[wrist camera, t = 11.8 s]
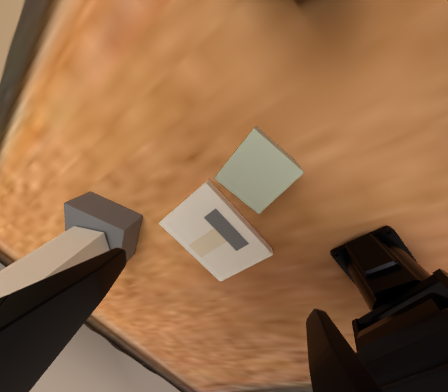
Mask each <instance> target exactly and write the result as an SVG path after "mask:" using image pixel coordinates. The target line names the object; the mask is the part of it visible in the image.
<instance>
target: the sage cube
mask: <svg viewBox="0 0 448 392" xmlns="http://www.w3.org/2000/svg"><path fill="white" fill-rule="evenodd" d="M303 173H304V171H303V170H302V169H301V168H300V166H299V165H298V164H297V162H296V161H295V160H294V159H293V158H292V157H291V156H290V155H289V154H288V153H287V152H285V151H284V150H283V149H282V148H281V147H280V146H279V145H277V144H276V143H275V142H274V141H273V140H272V139H271V138H269V137H268V136H267V135H266V134H265V133H264V132H263V131H261V130H260V129H259V128H258V127H257V126H255V127H254V128H253V130H252V131H251V132H250V133H249V135H248V136H247V137H246V138H245V140H244V141H243V142H242V143H241V145H240V146H239V147H238V148H237V150H236V151H235V152H234V153H233V155H232V156H231V157H230V158H229V160H228V161H227V162H226V163H225V165H224V166H223V167H222V169H221V170H220V171H219V173H218V174H217V175H216V176H215V178H214V179H215V180H217V181H218V182H219V183H220V184H222V185H223V186H224V187H225V188H227V189H228V190H229V191H230V192H232V193H233V194H234V195H235V196H237V197H238V198H239V199H240V200H242V201H243V202H244V203H245V204H247V205H248V206H249V207H250V208H252V209H253V210H254V211H255V212H257V213H258V214H260V213H261V212H262V211H263V210H264V209H265V208H266V207H267V206H268V205H270V204H271V203H272V202H273V201H274V200H275V199H276V198H277V197H278V196H279V195H280V194H282V193H283V192H284V191H285V190H286V189H287V188H288V187H289V186H290V185H291V184H292V183H293V182H295V181H296V180H297V179H298V178H299V177H300V176H301V175H302V174H303Z"/></svg>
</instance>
